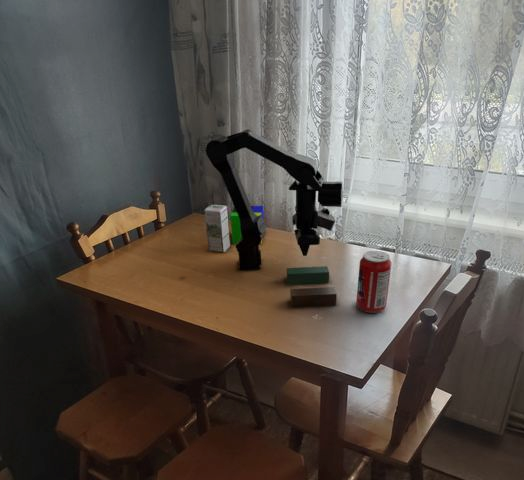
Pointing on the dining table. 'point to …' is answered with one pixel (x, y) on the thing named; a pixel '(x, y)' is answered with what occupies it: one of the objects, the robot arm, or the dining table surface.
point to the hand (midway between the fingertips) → (304, 255)
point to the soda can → (373, 281)
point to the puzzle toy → (236, 223)
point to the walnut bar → (313, 297)
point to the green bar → (307, 275)
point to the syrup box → (217, 228)
